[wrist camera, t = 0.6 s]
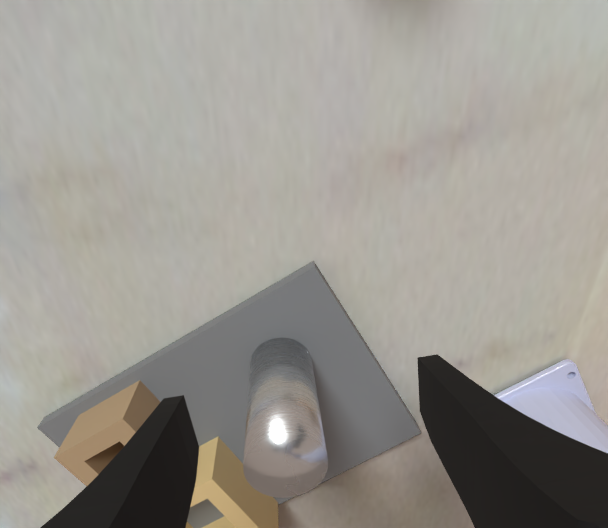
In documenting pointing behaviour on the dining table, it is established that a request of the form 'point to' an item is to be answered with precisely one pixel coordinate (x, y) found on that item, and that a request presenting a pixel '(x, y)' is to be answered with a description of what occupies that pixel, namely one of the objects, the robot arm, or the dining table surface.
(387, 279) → the dining table surface
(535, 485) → the robot arm
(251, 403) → the metal round peg
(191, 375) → the fitting board
